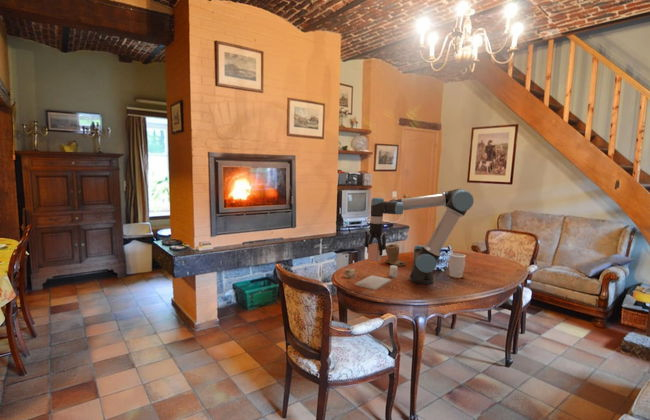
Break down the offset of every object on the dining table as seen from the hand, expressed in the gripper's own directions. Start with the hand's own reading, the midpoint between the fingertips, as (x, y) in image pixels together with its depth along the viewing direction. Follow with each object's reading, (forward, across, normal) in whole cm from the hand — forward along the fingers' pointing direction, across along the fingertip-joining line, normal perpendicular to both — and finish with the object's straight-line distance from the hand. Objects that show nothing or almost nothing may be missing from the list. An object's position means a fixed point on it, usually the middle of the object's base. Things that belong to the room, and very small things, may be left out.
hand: (374, 259), depth 226 cm
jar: (+15, -37, -50) cm, 64 cm away
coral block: (0, 0, 0) cm, 0 cm away
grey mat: (+15, 0, 0) cm, 15 cm away
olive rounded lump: (+15, +18, -1) cm, 24 cm away
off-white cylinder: (+15, -4, -21) cm, 26 cm away
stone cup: (+15, +8, -49) cm, 52 cm away
